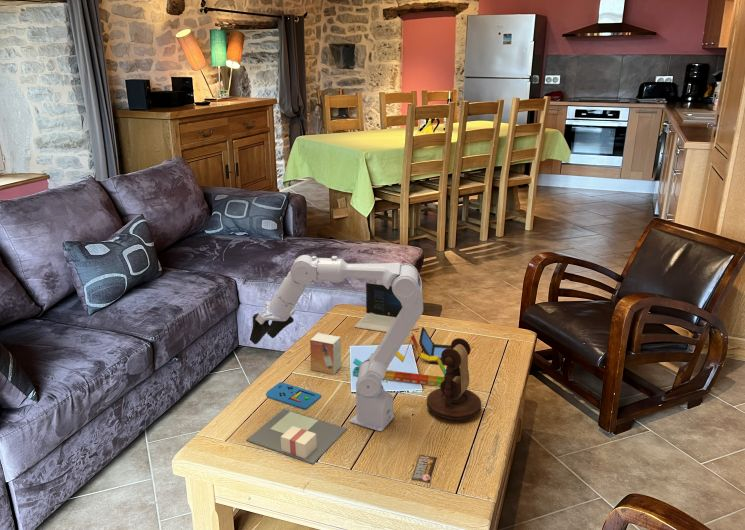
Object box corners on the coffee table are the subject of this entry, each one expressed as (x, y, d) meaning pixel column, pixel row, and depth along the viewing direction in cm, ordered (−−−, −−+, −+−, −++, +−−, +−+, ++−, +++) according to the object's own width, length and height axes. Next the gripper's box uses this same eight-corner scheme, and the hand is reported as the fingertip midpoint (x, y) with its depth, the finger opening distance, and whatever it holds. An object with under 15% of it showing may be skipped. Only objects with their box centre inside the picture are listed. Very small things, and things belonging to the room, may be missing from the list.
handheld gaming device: (280, 380, 180) (322, 393, 173) (280, 384, 181) (322, 397, 174) (262, 393, 174) (305, 407, 167) (262, 397, 174) (305, 411, 167)
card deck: (316, 447, 150) (316, 433, 149) (305, 459, 146) (304, 444, 145) (293, 439, 154) (292, 425, 152) (281, 450, 149) (280, 436, 148)
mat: (346, 429, 158) (346, 428, 158) (312, 464, 145) (312, 462, 145) (283, 409, 167) (283, 408, 167) (246, 441, 154) (246, 439, 154)
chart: (352, 377, 184) (351, 332, 179) (355, 371, 187) (354, 327, 182) (453, 389, 177) (455, 343, 172) (454, 383, 180) (456, 338, 175)
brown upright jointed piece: (469, 430, 158) (473, 361, 151) (417, 414, 164) (419, 348, 158) (488, 403, 170) (492, 338, 163) (439, 389, 177) (441, 327, 170)
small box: (310, 370, 188) (309, 339, 184) (318, 362, 193) (317, 332, 189) (334, 375, 185) (333, 343, 181) (341, 366, 190) (341, 336, 186)
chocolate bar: (430, 487, 138) (430, 484, 138) (409, 483, 139) (409, 480, 139) (438, 457, 148) (438, 454, 148) (418, 454, 149) (418, 451, 149)
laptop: (353, 328, 217) (353, 294, 212) (366, 314, 228) (366, 282, 223) (402, 335, 211) (402, 301, 206) (412, 321, 222) (413, 288, 217)
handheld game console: (452, 366, 190) (453, 345, 188) (418, 363, 192) (418, 342, 189) (454, 348, 202) (455, 327, 199) (421, 346, 203) (422, 325, 201)
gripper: (290, 284, 160) (267, 323, 165) (258, 291, 147) (233, 334, 152) (310, 300, 158) (285, 340, 163) (279, 309, 145) (253, 352, 150)
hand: (261, 338), depth 157 cm, fingers open, 7 cm apart
